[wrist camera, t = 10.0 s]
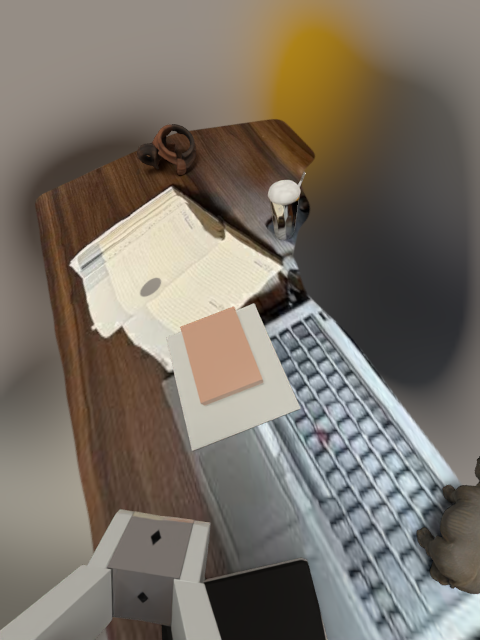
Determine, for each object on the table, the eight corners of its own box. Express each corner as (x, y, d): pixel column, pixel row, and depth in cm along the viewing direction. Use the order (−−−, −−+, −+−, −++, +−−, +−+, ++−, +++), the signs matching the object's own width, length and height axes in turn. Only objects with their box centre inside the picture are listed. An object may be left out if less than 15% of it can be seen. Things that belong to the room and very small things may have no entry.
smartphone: (337, 677, 23) (166, 715, 23) (334, 667, 24) (171, 703, 24) (306, 556, 26) (159, 590, 27) (305, 552, 28) (164, 585, 28)
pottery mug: (184, 146, 63) (188, 115, 55) (200, 183, 63) (205, 157, 55) (132, 154, 59) (128, 123, 51) (149, 194, 59) (147, 168, 51)
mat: (300, 408, 33) (300, 408, 33) (193, 450, 33) (192, 450, 32) (254, 304, 41) (254, 303, 40) (166, 338, 40) (165, 337, 40)
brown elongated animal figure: (509, 463, 28) (562, 465, 22) (447, 591, 24) (492, 630, 19) (466, 435, 29) (506, 430, 24) (403, 551, 26) (433, 576, 21)
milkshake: (307, 235, 45) (312, 182, 36) (277, 247, 45) (274, 196, 36) (295, 218, 47) (298, 163, 38) (267, 228, 47) (262, 176, 38)
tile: (262, 379, 33) (233, 306, 38) (200, 403, 32) (180, 326, 38) (264, 383, 35) (236, 314, 40) (205, 406, 35) (185, 333, 40)
